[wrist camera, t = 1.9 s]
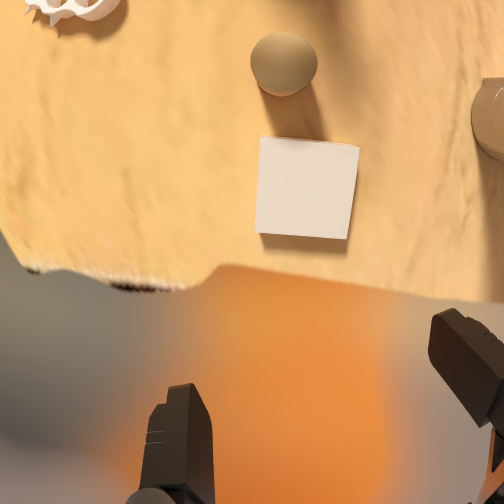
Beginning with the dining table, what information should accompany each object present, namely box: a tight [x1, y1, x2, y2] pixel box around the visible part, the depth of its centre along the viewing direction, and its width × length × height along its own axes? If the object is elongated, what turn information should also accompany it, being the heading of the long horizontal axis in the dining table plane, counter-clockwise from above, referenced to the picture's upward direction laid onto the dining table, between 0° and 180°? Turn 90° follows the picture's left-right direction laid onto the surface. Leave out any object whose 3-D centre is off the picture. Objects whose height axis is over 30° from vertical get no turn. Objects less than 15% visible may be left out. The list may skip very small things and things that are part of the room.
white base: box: [255, 135, 360, 239], centre depth 30 cm, size 9×9×3 cm
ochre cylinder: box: [251, 32, 317, 97], centre depth 24 cm, size 5×5×7 cm
